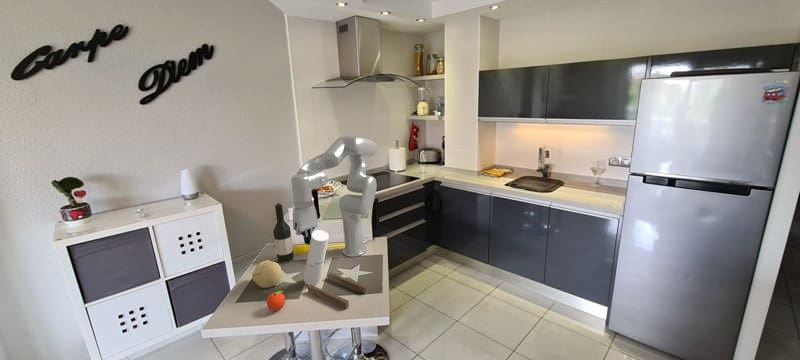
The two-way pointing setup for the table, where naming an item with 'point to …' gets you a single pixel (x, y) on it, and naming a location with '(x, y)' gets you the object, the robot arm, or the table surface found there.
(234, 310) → the table surface
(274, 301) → the clementine
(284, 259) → the wine bottle
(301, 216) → the robot arm
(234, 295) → the table surface
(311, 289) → the cradle rails
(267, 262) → the pale yellow lumpy blob
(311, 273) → the cylindrical container
